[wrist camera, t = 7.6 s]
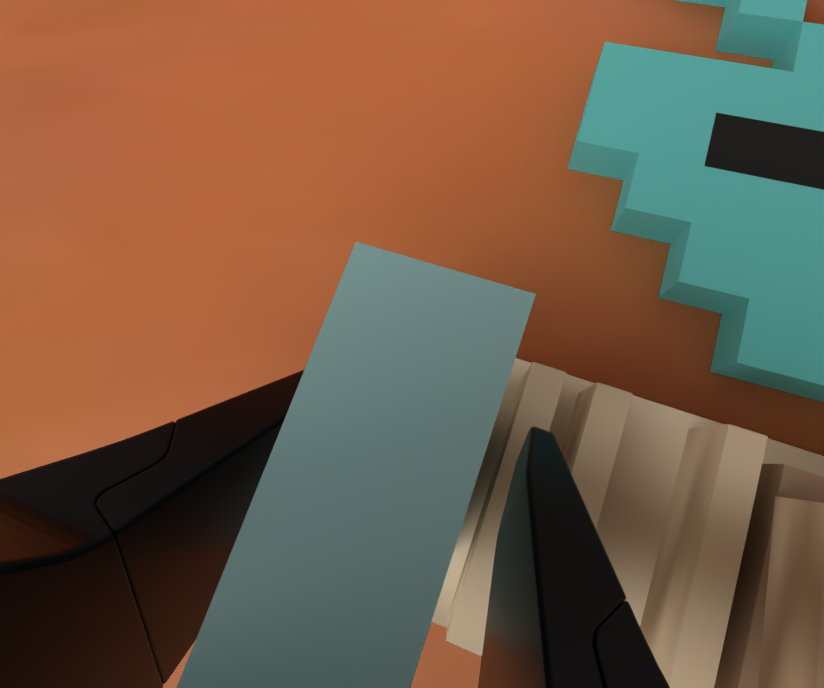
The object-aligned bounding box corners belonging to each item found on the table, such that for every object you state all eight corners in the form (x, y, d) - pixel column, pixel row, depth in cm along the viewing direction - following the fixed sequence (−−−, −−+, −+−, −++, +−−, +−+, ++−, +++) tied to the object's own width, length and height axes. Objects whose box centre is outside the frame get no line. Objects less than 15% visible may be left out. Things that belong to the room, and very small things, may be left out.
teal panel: (441, 553, 16) (361, 840, 4) (385, 530, 16) (159, 732, 4) (488, 408, 16) (536, 293, 5) (433, 389, 17) (356, 241, 5)
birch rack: (883, 806, 14) (1021, 922, 10) (317, 561, 17) (279, 588, 14) (929, 496, 15) (1061, 509, 12) (403, 328, 18) (388, 299, 15)
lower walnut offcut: (859, 765, 13) (926, 819, 11) (692, 695, 14) (728, 734, 12) (899, 514, 14) (966, 523, 12) (744, 462, 15) (783, 464, 13)
